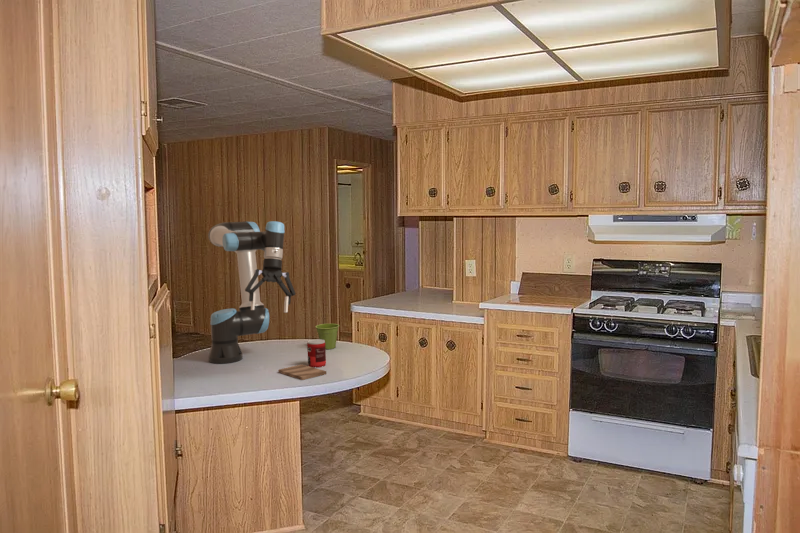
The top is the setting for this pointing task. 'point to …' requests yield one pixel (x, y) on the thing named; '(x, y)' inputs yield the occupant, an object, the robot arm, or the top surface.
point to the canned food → (316, 353)
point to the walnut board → (302, 372)
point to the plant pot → (328, 334)
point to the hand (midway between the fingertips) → (269, 311)
